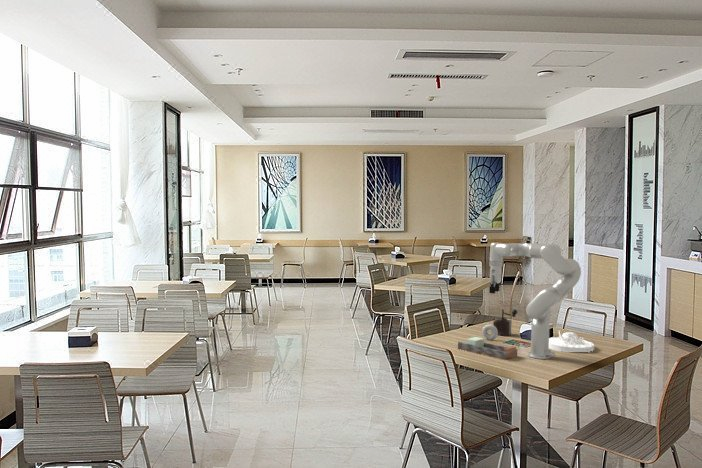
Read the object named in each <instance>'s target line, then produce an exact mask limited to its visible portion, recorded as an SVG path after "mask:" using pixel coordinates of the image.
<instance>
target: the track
mask: <svg viewBox="0 0 702 468" xmlns="http://www.w3.org/2000/svg"><path fill="white" fill-rule="evenodd" d="M457 349H458V350H460V349H461V351H465V350H466V352H469V351H470V353H473V352H474V354H478V353H479V354H478V355H482V354H483V356H486V355H487V356H488V357H491V358H495V359H500V360H504V361H506V360H510V359H513V358H517V357H518V349H517V346H510V347H507V346H504V345H498V344H494V343H489V342H485V341H484V347H480V346H475V345H471V344H467V342H461V341H458V342H457Z"/></svg>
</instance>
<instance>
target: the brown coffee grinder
mask: <svg viewBox="0 0 702 468" xmlns="http://www.w3.org/2000/svg"><path fill="white" fill-rule="evenodd" d="M511 313H512V314H510V313H507V312H505V310H504V309H501V316H500V317H499V318H496V319H494V320H493V324H492V325H494V326H495V327H496V328H497V330H498V335H497V336H504V337H510V336H511V335H512V321H513V320H512V319H508V318H506V317H505V316H504V315H506V316H511V317H512V318H513V317H514V318H515V317H516V315H517V314H518V310H517V309H512V310H511Z"/></svg>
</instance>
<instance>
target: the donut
mask: <svg viewBox="0 0 702 468" xmlns="http://www.w3.org/2000/svg"><path fill="white" fill-rule="evenodd" d="M489 330H490V331H491V334H490V333H488V331H489ZM481 334H482V336H483V337H484V339H486V340H489V341H493V340H495V339H496V338H497V336H499V335H498V330H497V328H496V327H495V326H494V325H493V324H491V323H490V324H489V323H488V324H486V325H485V324H484V326H483V328H481Z"/></svg>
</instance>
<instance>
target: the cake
mask: <svg viewBox="0 0 702 468" xmlns="http://www.w3.org/2000/svg"><path fill="white" fill-rule="evenodd" d="M549 349H550V350H552V351H557V352H561V351H563V352H564V353H569V352H588V353H591V352H590V351H592V352H594V351H595V343H593V342H591V341H588V340H586V339H584V337H578V334H577V333H575V332H572V331H566V332H564V333H562V334H561V330H558V337H555V336H552V337H549ZM593 350H594V351H593Z"/></svg>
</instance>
